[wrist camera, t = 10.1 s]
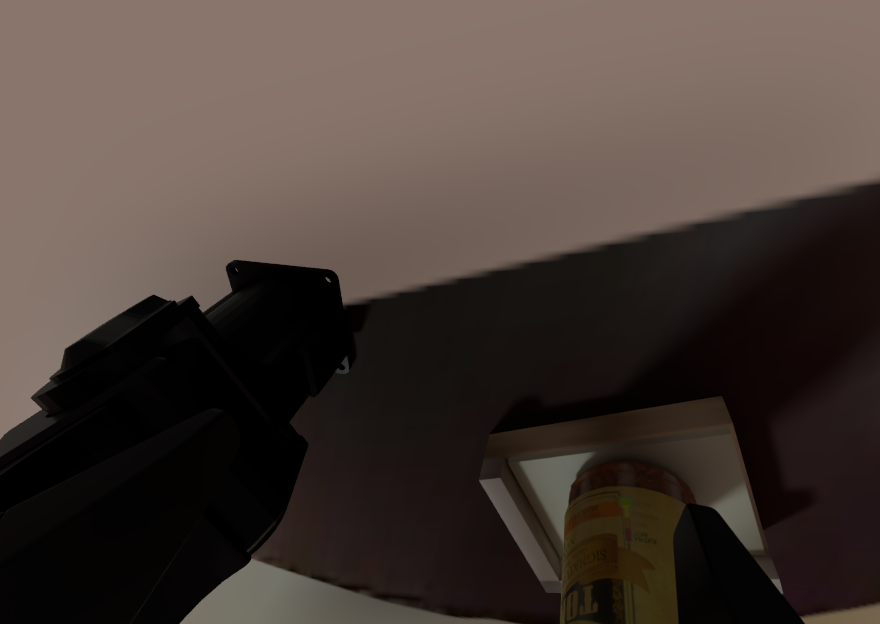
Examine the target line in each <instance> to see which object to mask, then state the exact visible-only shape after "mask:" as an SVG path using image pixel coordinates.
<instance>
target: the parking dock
mask: <svg viewBox="0 0 880 624" xmlns="http://www.w3.org/2000/svg"><path fill="white" fill-rule="evenodd" d="M615 460H616V461H621V460H633V461H639V462H643V463H648V464H651V465H654V466H658V467H662V468H664V469H665V470H667V471H669V472H672V473H674V474H676V475H677V476H678V477H679V478H680V479H681V480H682V481H684V482H685V483H686V484H687V485H688V486H689V487H690V489H691V491H692V493H693V494H694V496H695V500H696V502H697V504H698V505H703V506H708V507H712V508H714V509H715V510H716V511H717V512H718V513H719V514H720V515H721V516H722V518H723V519H724V520H725V522H726V523H727V524H728V525H729V527H730V528H731V529H732V531H733V532H734V533H735V534H736V536H737V537H738V538H739V540H740V541H741V542H742V543H743V545H744V546H745V547H746V549H747V550H748V551H749V552H750V554H751V555H752V556H753V558H754V559H755V560H756V561H757V563H758V564H759V565H760V567H761V568H762V569H763V570H764V572H765V573H766V574H767V576H768V577H769V578H770V579H771V581H772V582H773V583H774V585H775V586H776V587H777V588H778V590H779V591H780V592H781V594H783V591H782V588H781V584H780V580H779V577H778V575H777V572H776V569H775V567H774V564H773V561H772V558H771V556H770V553H769V550H768V547H767V544H766V540H765V536H764V533H763V529H762V526H761V522H760V519H759V515H758V511H757V508H756V504H755V501H754V497H753V493H752V490H751V486H750V483H749V479H748V476H747V472H746V468H745V465H744V461H743V458H742V454H741V451H740V447H739V443H738V440H737V436H736V433H735V429H734V426H733V422H732V420H731V417H730V415H729V412H728V410H727V407H726V405H725V402H724V400H723V397H722V396H717V397H711V398H705V399H699V400H693V401H687V402H681V403H675V404H669V405H663V406H657V407H651V408H645V409H639V410H633V411H627V412H621V413H615V414H609V415H603V416H597V417H591V418H585V419H579V420H573V421H567V422H561V423H555V424H549V425H543V426H537V427H531V428H525V429H519V430H513V431H507V432H501V433H495V434H490V435H489V439H488V444H487V448H486V452H485V457H484V461H483V465H482V470H481V474H480V479H479V481H480V483H481V484H482V486H483V488H484V489H485V491H486V493H487V494H488V496H489V498H490V499H491V501H492V503H493V504H494V506H495V508H496V509H497V511H498V513H499V514H500V516H501V518H502V519H503V521H504V522H505V524H506V526H507V527H508V529H509V531H510V532H511V534H512V536H513V537H514V539H515V541H516V542H517V544H518V546H519V547H520V549H521V551H522V552H523V554H524V556H525V557H526V559H527V561H528V562H529V564H530V566H531V567H532V569H533V571H534V572H535V574H536V576H537V577H538V579H539V581H540V582H541V584H542V586H543V587H544V589H545V591H546V592H547V593H561V589H562V565H563V542H564V516H565V513H566V510H567V508H568V500H569V493H570V490H571V485H572V483H573V482H574V481H575V480H576V478H577V476H579V475H581V474H582V473H583V472H585V471H586V470H587V469H590V468H592V467H595V466H597V465H600V464H602V463H607V462H613V461H615Z"/></svg>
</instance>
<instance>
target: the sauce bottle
mask: <svg viewBox="0 0 880 624" xmlns="http://www.w3.org/2000/svg"><path fill="white" fill-rule="evenodd" d="M688 503H693V504H697V502H696V500H695V496H694V494H693V493H692V491H691V489H690V487H689V486H688V485H687V484H686V483H685V482H684V481H682V480H681V479H680V478H679V477H678V476H677V475H676V474H674V473H672V472H669V471H667V470H665V469H664V468H662V467H658V466H654V465H651V464H648V463H643V462H639V461H633V460H621V461H616V460H615V461H613V462H607V463H602V464H600V465H597V466H595V467H592V468H590V469H587V470H586V471H585V472H583V473H582V474H581V475H579V476H577V478H576V480H575V481H574V482H573V483H572V485H571V490H570V493H569V500H568V508H567V510H566V513H565V516H564V542H563V565H562V589H561V615H560V624H679V621H678V607H677V594H676V580H675V566H674V552H673V535H674V531H675V528H676V526H677V523H678V521H679V519H680V516H681V514H682V512H683V509H684V507H685V506H686V505H687V504H688Z"/></svg>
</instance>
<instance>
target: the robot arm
mask: <svg viewBox="0 0 880 624" xmlns="http://www.w3.org/2000/svg"><path fill="white" fill-rule="evenodd" d="M235 268H236V269H237V270H238V272H237V271H236V269H235ZM226 271H227V275H228V278H229V281H230V285H231V288H232V292H231V293H230V294H228V295H227V296H225V297H224V298H223V299H221V300H220V301H219V302H217V303H216V304H214V305H213V306H212V307H210V308H209V309H207V310H206V311H205V312H203V313H202V311H201V310H200V309H199V307H200V305H199V304H198V302H197V301H196V300H195V299H194V297H193V296H190V297H187V298H185V299H183V300H181V301H179V302H177V303H176V302H175V301H171V300H170V301H167V300H165V299H162V298H160V297H158V296H156V295H152V296H150V297H148V298H146V299H144V300H142V301H141V302H139V303H138V304H136V305H134V306H132V307H131V308H129V309H127V310H126V311H124V312H122V313H121V314H119V315H117V316H116V317H114V318H112V319H111V320H109V321H107V322H106V323H105V324H103V325H101V326H99V327H98V328H97V329H95V330H93V331H92V332H90V333H89V334H87V335H86V336H84V337H83V338H81V339H80V340H78V341H77V342H75V343H74V344H72V345H71V346H69V347H67V348H66V349H65V351H64V356H63V360H62V365H61V369H60V370H58V371H57V372H56V373H55V374H54V375H52V376H51V377H50V378H49V379H50V380H51V381H50V382H49V383H47V384H46V385H45V386H44V387H42V388H41V389H40V390H39V391H37V392H36V393H35V394H34V395H33V396H32V397H31V399H32V400H33V401H34V402H36V403H37V404H38V405H39V406H40V407H41V408H42V410H41V411H39V412H37V413H36V414H34V415H33V416H31V417H30V418H28V419H27V420H25V421H24V422H22V423H20V424H19V425H18V426H16V427H14V428H13V429H11V430H10V431H8V432H7V433H6V434H5V435H4V436H3V437H2V438H1V440H0V624H180V622H181V621H182V620H183V619H184V618H185V617H186V616H187V615H188V614H189V613H190V612H191V611H192V610H193V608H194V607H195V606H196V605H197V604H198V603H199V602H200V601H201V600H202V599H203V598H205V597H206V596H207V595H208V594H209V593H210V592H211V591H213V590H214V589H215V588H216V587H217V586H218V585H219V584H221V582H223V581H224V580H226V579H227V578H229V577H230V576H231V575H233V574H234V573H236V572H237V571H239V570H240V569H242V568H243V567H245V566H246V565H247V564H248V563H249V562H250V560H251V555H252V554H253V553H254V552H255V551H257V550H258V549H259V548H260V547H261V546H262V545H263V544H264V543H265V542H266V541H267V540H268V538H269V537H270V536H271V535H272V533H273V532H274V531H275V530H276V528H277V527H278V525H279V523H280V522H281V520H282V518H283V516H284V514H285V512H286V509H287V506H288V503H289V501H290V498H291V495H292V492H293V489H294V486H295V483H296V480H297V477H298V474H299V471H300V468H301V465H302V462H303V459H304V456H305V454H306V451H307V448H308V443H307V441H306V440H305V439H304V437H303V436H302V435H300V436H299V434H298V433H297V432H296V431H295V429H294V428H293V427H292V426H291V424H290V423H289V421H290V420H291V419H292V418H293V416H294V415H295V414H296V412H297V411H298V410H299V408H300V407H301V406H302V404H303V403H304V402H305V400H306V399H307V398H308V397H315V396H317V395H318V394H319V393H320V391H321V390H322V389H323V387H324V386H325V385H326V383H327V382H328V381H329V379H330V378H331V377H332V375H333V374H334V372H336V373H342V374H345V373H347V372H348V371H349V370H350V368H351V367H352V361H351V354H350V351H351V349H352V348H351V341H350V335H349V328H348V322H347V315H346V312H345V310H344V309H343V303H342V297H341V291H340V284H339V279H338V276H337V274H336V273H335V272H333V271H332V270H328V269H319V268H308V267H298V266H290V265H280V264H270V263H260V262H250V261H241V260H233V261H232V262H230V263H229V264H228V265H227V266H226ZM325 277H327V278H328V279H330V281H331V283H330V282H328V281H327V280H326V278H325ZM342 364H343V365H344V366H343V365H342ZM673 552H674V566H675V580H676V594H677V607H678V621H679V624H805V623H804V622H803V621H802V619H801V618H800V617H799V615H798V614H797V613H796V612H795V610H794V609H793V608H792V606H791V605H790V604H789V603H788V601H787V600H786V599H785V597H784V596H783V595H782V594H781V592H780V591H779V590H778V588H777V587H776V586H775V585H774V583H773V582H772V581H771V579H770V578H769V577H768V576H767V574H766V573H765V572H764V570H763V569H762V568H761V567H760V565H759V564H758V563H757V561H756V560H755V559H754V558H753V556H752V555H751V554H750V552H749V551H748V550H747V549H746V547H745V546H744V545H743V543H742V542H741V541H740V540H739V538H738V537H737V536H736V534H735V533H734V532H733V531H732V529H731V528H730V527H729V525H728V524H727V523H726V522H725V520H724V519H723V518H722V516H721V515H720V514H719V513H718V512H717V511H716V510H715V509H714V508H712V507H708V506H703V505H698V504H693V503H688V504H687V505H686V506H685V507H684V509H683V512H682V514H681V516H680V519H679V521H678V523H677V526H676V528H675V531H674V535H673Z"/></svg>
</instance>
